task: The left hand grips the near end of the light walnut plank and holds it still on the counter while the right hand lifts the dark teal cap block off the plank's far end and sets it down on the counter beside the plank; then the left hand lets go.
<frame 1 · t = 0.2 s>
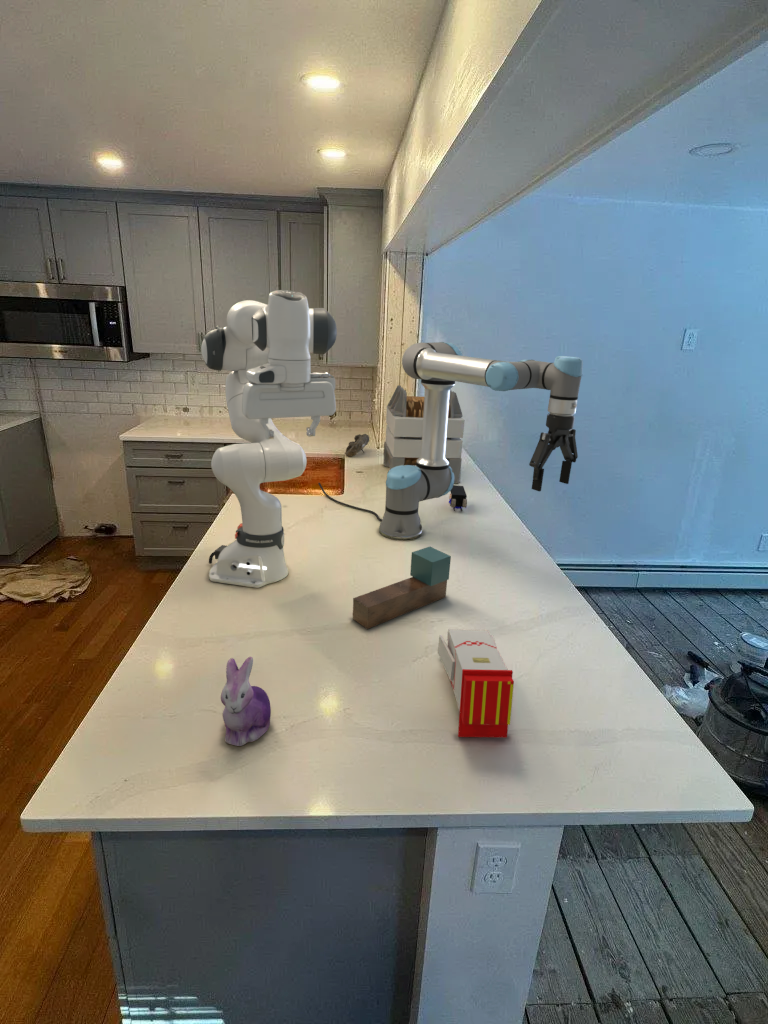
left hand: (290, 437, 124), 47 cm above the counter, fingers open, 8 cm apart
right hand: (550, 486, 166), 28 cm above the counter, fingers open, 13 cm apart
figurine character: (456, 507, 229), on the counter
fossil: (357, 453, 307), on the counter
figurine: (247, 730, 105), on the counter
plank: (401, 607, 151), on the counter, touching cap block
cap block: (429, 577, 155), point 6 cm above the counter, touching plank
white storage bin: (419, 473, 275), on the counter
toy: (469, 691, 119), on the counter
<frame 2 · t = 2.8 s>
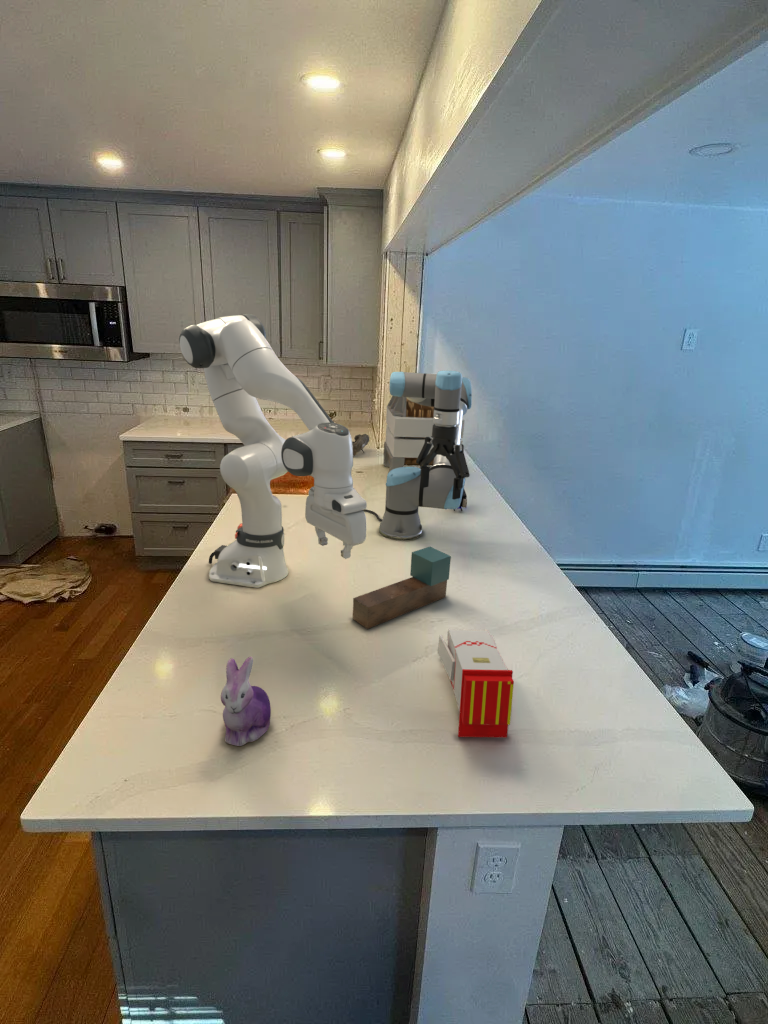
left hand: (334, 550, 134), 20 cm above the counter, fingers open, 8 cm apart
right hand: (439, 492, 175), 22 cm above the counter, fingers open, 13 cm apart
nothing on the counter moved.
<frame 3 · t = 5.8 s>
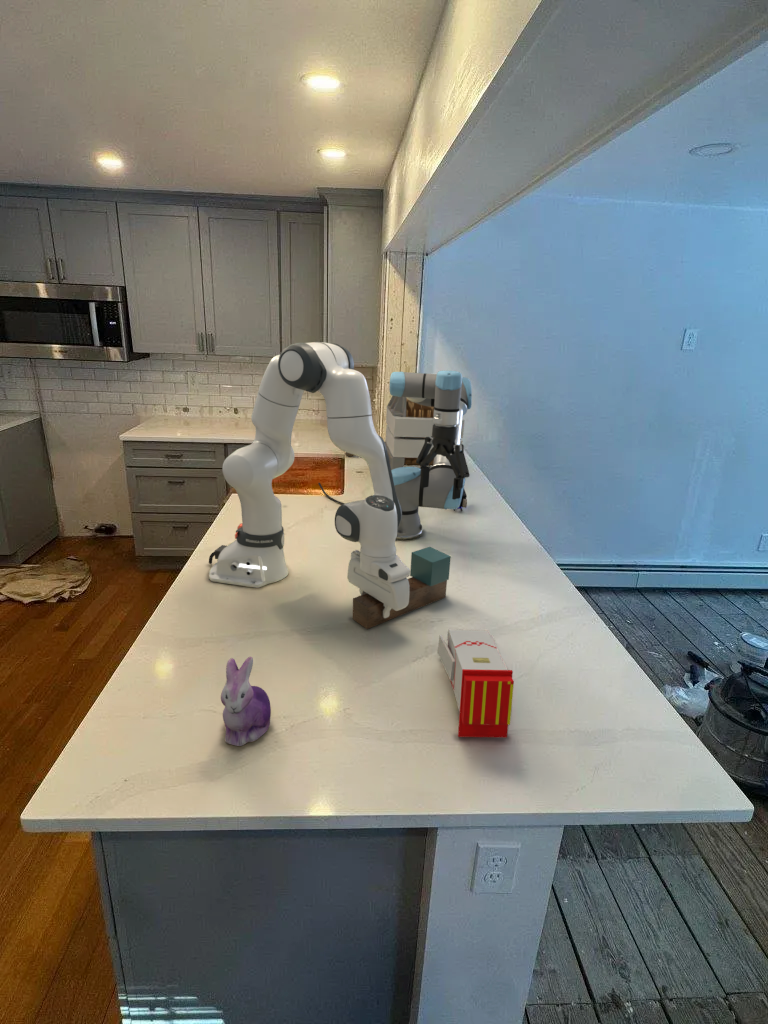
left hand: (375, 610, 144), 2 cm above the counter, fingers closed on plank, 6 cm apart
right hand: (439, 492, 175), 22 cm above the counter, fingers open, 13 cm apart
plank: (401, 607, 151), on the counter, touching cap block, left hand
everything else where it was.
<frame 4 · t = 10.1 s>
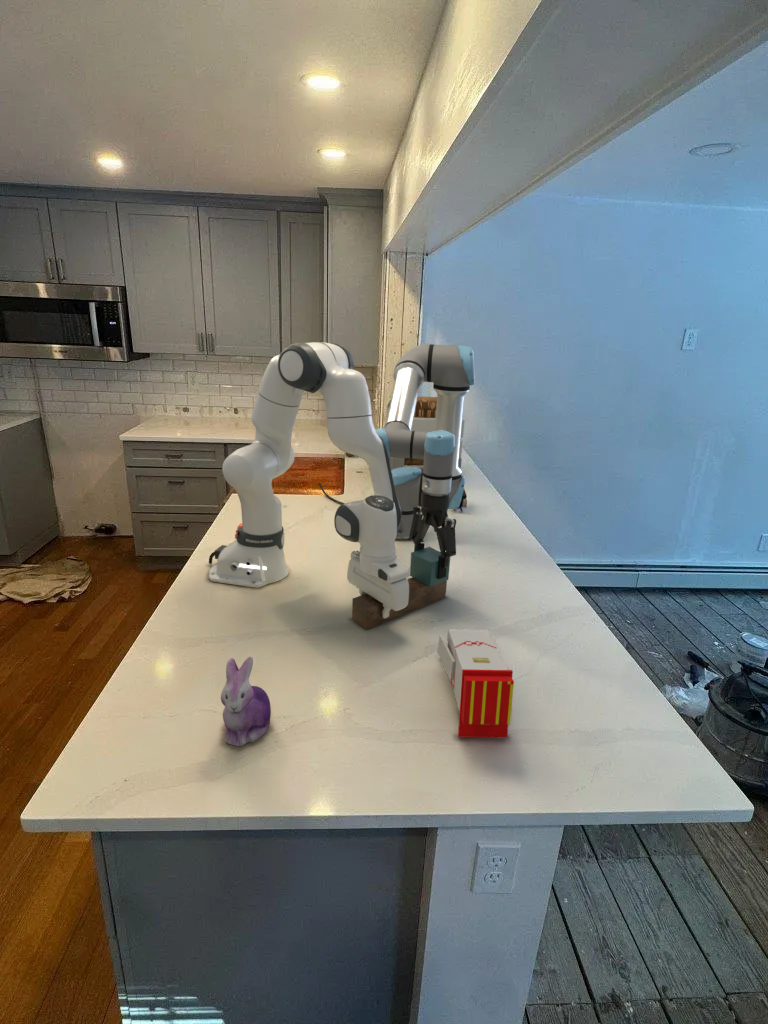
left hand: (375, 610, 144), 2 cm above the counter, fingers closed on plank, 6 cm apart
right hand: (429, 571, 154), 8 cm above the counter, fingers closed on cap block, 8 cm apart
plank: (400, 608, 151), on the counter, touching cap block, left hand
cap block: (428, 577, 155), point 6 cm above the counter, touching right hand, plank
everything else where it was.
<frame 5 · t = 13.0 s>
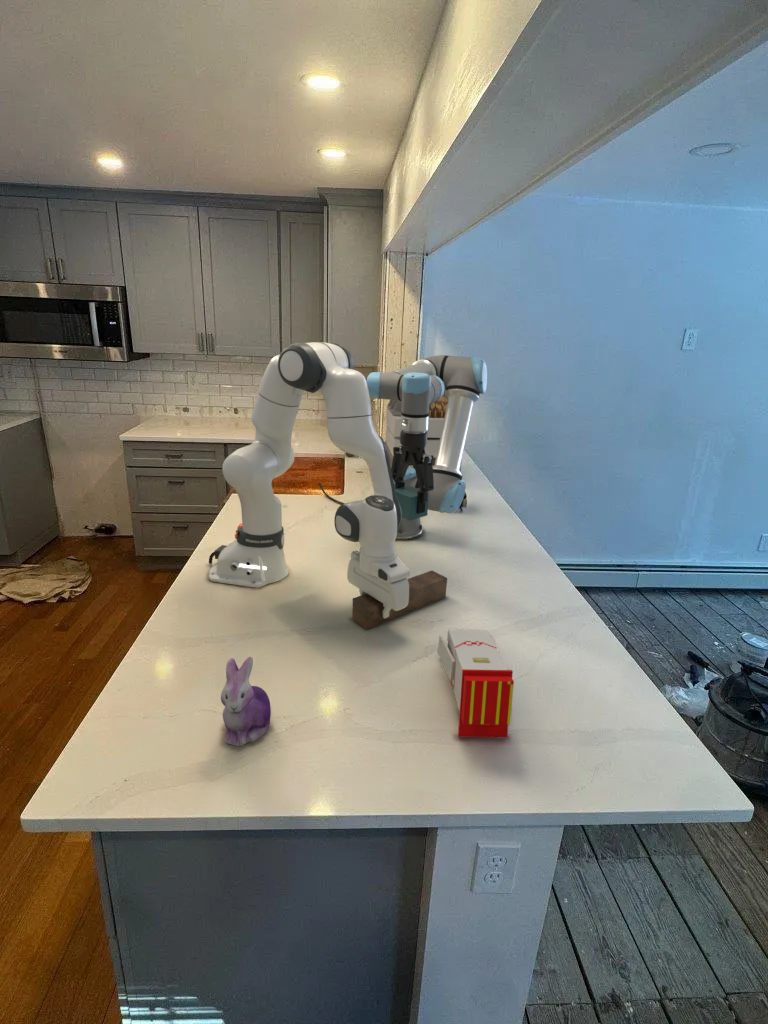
left hand: (375, 610, 144), 2 cm above the counter, fingers closed on plank, 6 cm apart
right hand: (409, 508, 164), 21 cm above the counter, fingers closed on cap block, 8 cm apart
plank: (400, 607, 151), on the counter, touching left hand
cap block: (409, 514, 165), point 19 cm above the counter, touching right hand
everything else where it was.
when the right hand's fingers open (3 cm above the counter, at t = 17.2 s): cap block drops 1 cm, on the counter.
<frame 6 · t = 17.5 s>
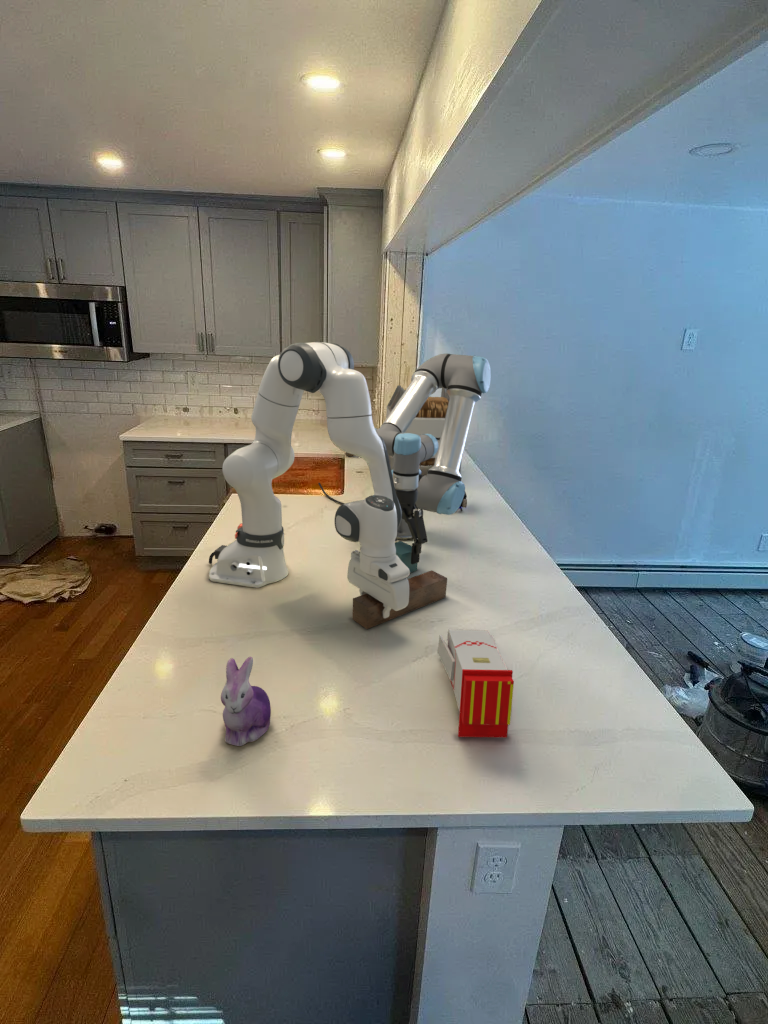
left hand: (375, 610, 144), 2 cm above the counter, fingers closed on plank, 6 cm apart
right hand: (401, 555, 172), 4 cm above the counter, fingers open, 11 cm apart
plank: (401, 607, 151), on the counter, touching left hand
cap block: (399, 568, 173), on the counter
everything else where it was.
when the left hand's fingers open (2 cm above the counter, at t = 20.2 s): plank stays where it is, on the counter.
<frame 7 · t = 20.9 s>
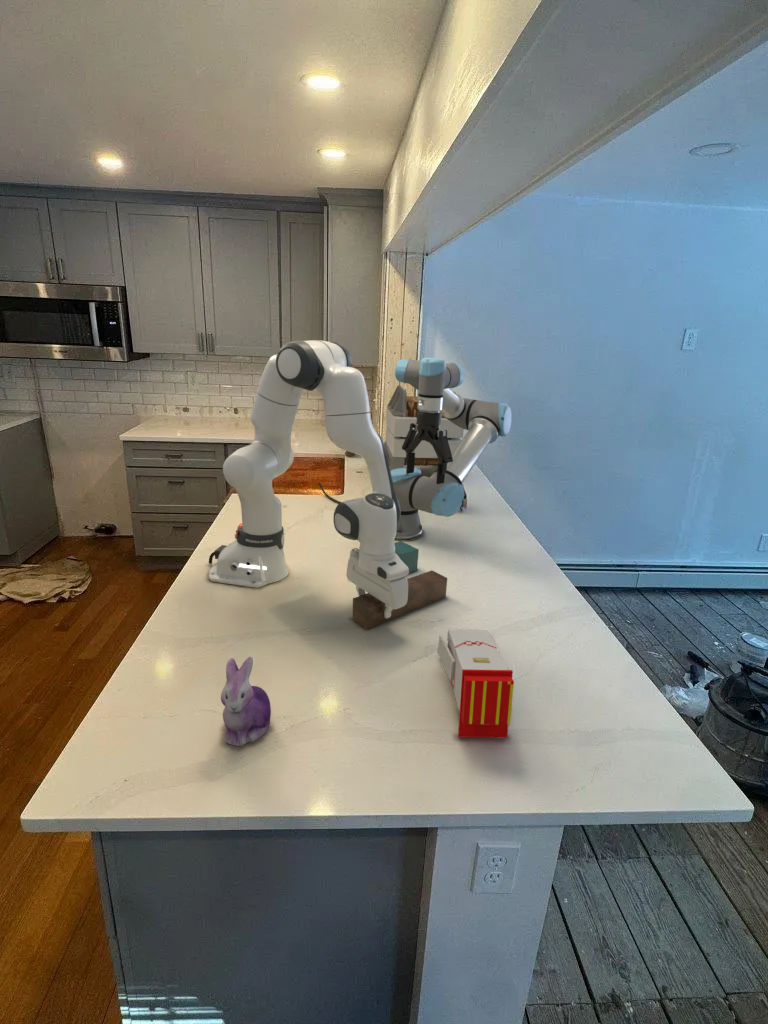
left hand: (374, 608, 144), 3 cm above the counter, fingers open, 8 cm apart
right hand: (424, 478, 179), 25 cm above the counter, fingers open, 13 cm apart
plank: (401, 607, 151), on the counter
everything else where it was.
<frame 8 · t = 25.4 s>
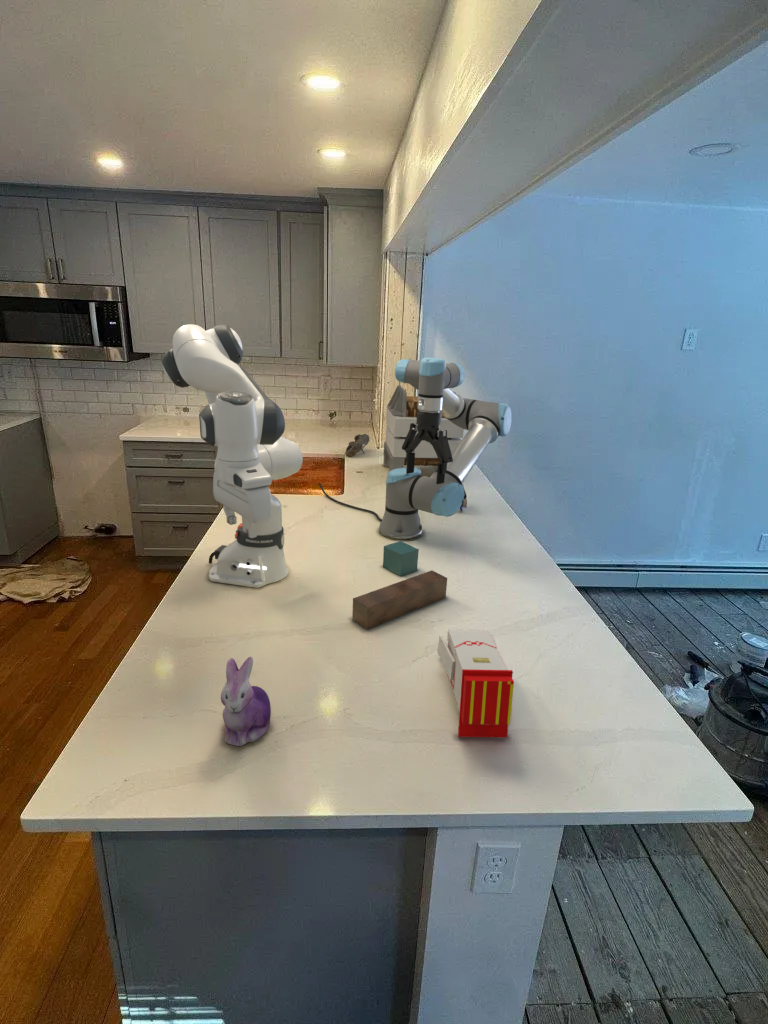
left hand: (241, 530, 126), 27 cm above the counter, fingers open, 8 cm apart
right hand: (424, 478, 179), 25 cm above the counter, fingers open, 13 cm apart
nothing on the counter moved.
at the end: cap block inside the target area (0.2 cm from its centre), on the counter; plank moved 0.2 cm from its start; the left hand is holding nothing; the right hand is holding nothing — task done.
